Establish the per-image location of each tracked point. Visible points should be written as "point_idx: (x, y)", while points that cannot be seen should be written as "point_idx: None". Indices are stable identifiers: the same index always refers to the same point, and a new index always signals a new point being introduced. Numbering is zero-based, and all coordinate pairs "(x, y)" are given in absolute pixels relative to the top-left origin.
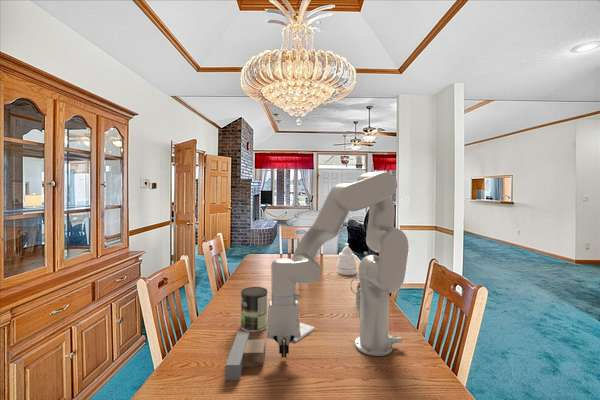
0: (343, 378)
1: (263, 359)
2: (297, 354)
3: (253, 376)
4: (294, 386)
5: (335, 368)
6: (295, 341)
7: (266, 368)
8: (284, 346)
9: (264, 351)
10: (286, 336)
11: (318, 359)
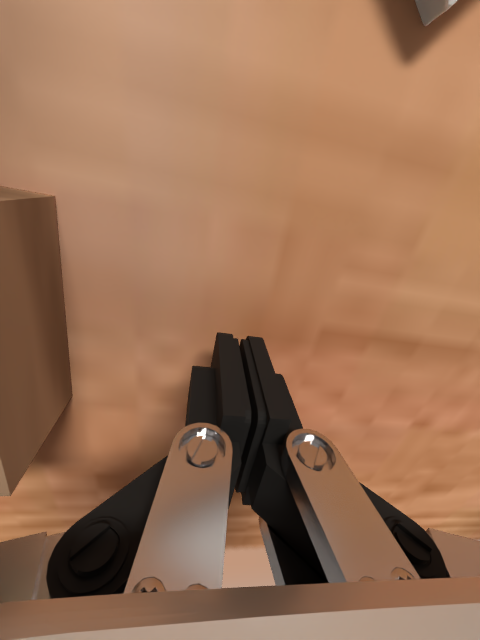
0: (452, 488)
1: (52, 403)
2: (347, 287)
3: (27, 471)
4: (243, 520)
5: (471, 436)
6: (435, 17)
7: (100, 416)
8: (239, 488)
9: (29, 334)
10: (306, 521)
11: (446, 362)
